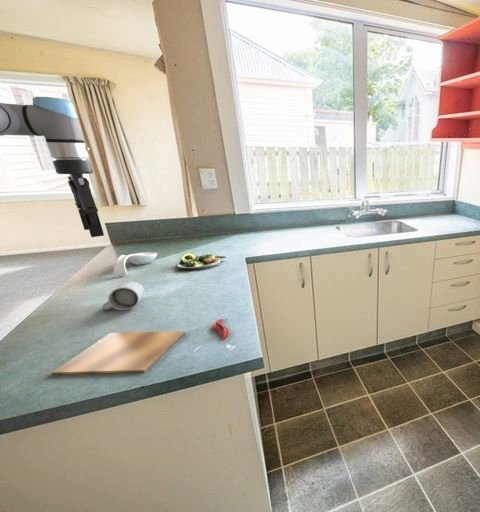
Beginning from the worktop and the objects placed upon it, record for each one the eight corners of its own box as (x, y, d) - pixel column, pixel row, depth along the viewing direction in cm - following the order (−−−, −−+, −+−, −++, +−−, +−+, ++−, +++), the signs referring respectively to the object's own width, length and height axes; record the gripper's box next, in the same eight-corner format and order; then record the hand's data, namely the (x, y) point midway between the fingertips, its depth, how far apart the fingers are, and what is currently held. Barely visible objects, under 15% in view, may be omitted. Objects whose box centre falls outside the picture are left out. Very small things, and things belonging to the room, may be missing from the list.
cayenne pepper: (214, 321, 89) (213, 315, 88) (231, 318, 90) (230, 312, 90) (208, 343, 78) (207, 337, 77) (227, 339, 80) (226, 333, 79)
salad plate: (227, 255, 149) (226, 246, 147) (227, 266, 134) (225, 256, 132) (182, 260, 141) (180, 251, 139) (176, 273, 125) (173, 262, 124)
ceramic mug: (147, 297, 103) (141, 277, 101) (141, 307, 96) (135, 286, 94) (108, 304, 99) (101, 283, 96) (99, 315, 92) (91, 292, 89)
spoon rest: (135, 259, 142) (131, 245, 139) (163, 257, 144) (159, 243, 142) (104, 277, 120) (99, 261, 118) (138, 275, 123) (133, 259, 120)
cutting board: (52, 374, 66) (51, 372, 66) (111, 334, 81) (110, 332, 81) (144, 372, 67) (144, 370, 67) (185, 333, 82) (185, 331, 82)
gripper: (96, 159, 78) (118, 237, 85) (83, 159, 94) (102, 224, 100) (55, 159, 73) (82, 242, 79) (48, 159, 88) (71, 228, 95)
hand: (94, 232), depth 90 cm, fingers open, 13 cm apart
